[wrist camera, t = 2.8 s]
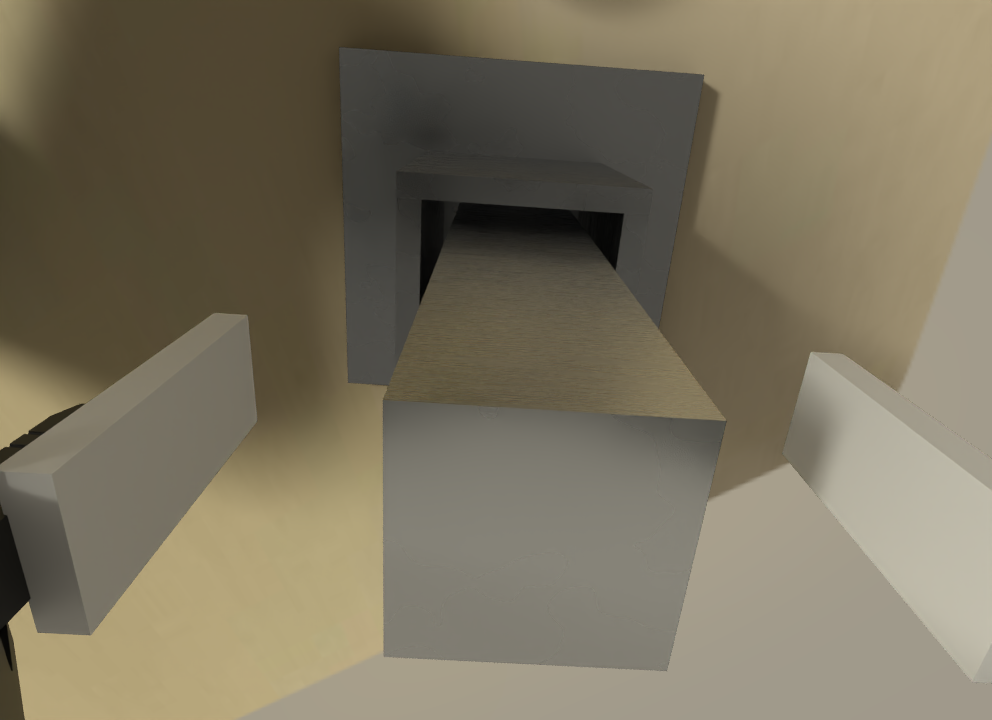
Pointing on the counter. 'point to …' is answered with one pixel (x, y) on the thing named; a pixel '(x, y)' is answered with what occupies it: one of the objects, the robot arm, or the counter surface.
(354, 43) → the counter surface
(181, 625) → the counter surface
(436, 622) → the column
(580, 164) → the stand
